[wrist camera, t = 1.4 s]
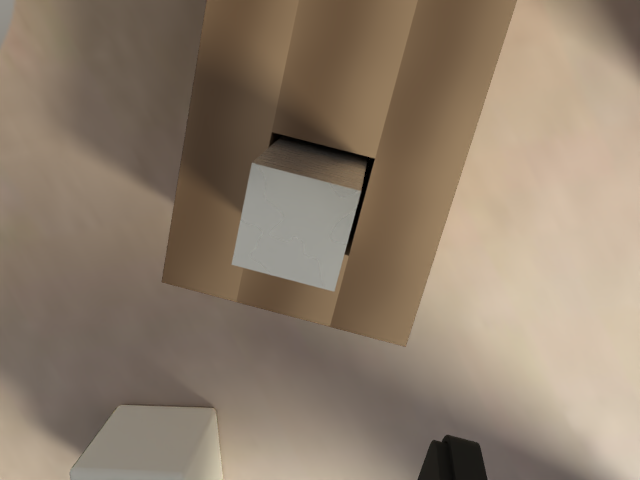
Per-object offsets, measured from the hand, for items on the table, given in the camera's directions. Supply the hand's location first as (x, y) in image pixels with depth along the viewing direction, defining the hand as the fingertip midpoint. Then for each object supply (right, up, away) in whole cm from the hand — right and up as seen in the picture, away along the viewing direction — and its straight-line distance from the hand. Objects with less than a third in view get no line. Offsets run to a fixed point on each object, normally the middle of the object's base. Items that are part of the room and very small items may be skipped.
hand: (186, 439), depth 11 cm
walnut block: (+5, +15, +22) cm, 27 cm away
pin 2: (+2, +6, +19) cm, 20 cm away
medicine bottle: (-8, -11, +33) cm, 35 cm away
